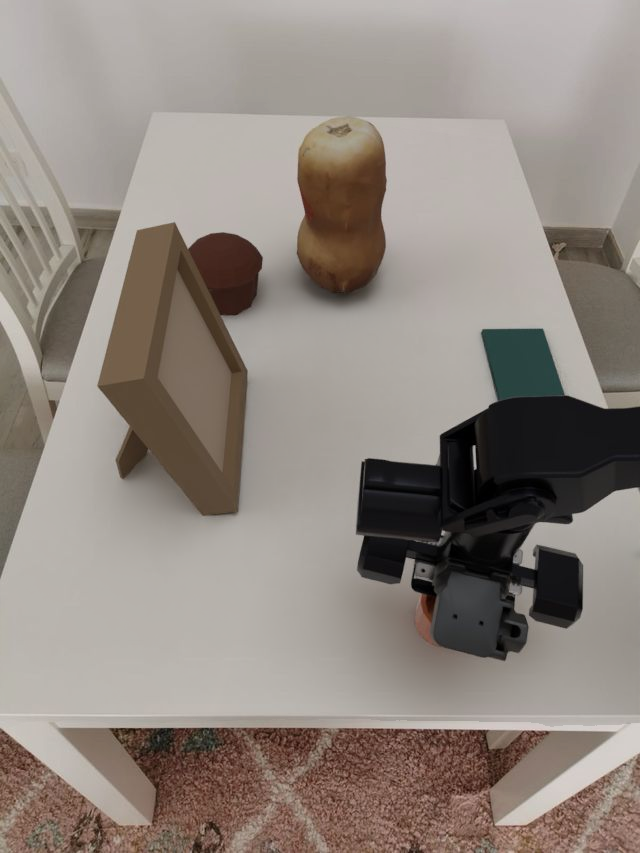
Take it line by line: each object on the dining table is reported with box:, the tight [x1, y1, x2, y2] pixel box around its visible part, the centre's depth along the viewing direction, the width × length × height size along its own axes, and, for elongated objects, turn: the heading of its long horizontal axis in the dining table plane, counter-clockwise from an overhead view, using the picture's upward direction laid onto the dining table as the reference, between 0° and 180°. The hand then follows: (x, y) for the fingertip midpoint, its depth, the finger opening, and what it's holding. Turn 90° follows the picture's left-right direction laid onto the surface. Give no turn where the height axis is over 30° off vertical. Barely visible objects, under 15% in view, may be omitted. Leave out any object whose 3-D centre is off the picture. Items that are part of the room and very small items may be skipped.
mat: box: [481, 328, 566, 401], centre depth 85 cm, size 20×9×1 cm, turn 1°
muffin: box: [187, 231, 264, 317], centre depth 91 cm, size 12×11×10 cm
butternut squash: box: [296, 116, 388, 295], centre depth 88 cm, size 14×13×25 cm
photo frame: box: [96, 221, 249, 517], centre depth 69 cm, size 15×22×25 cm
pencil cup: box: [413, 593, 443, 648], centre depth 64 cm, size 6×6×6 cm
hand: (451, 599), depth 61 cm, fingers closed
